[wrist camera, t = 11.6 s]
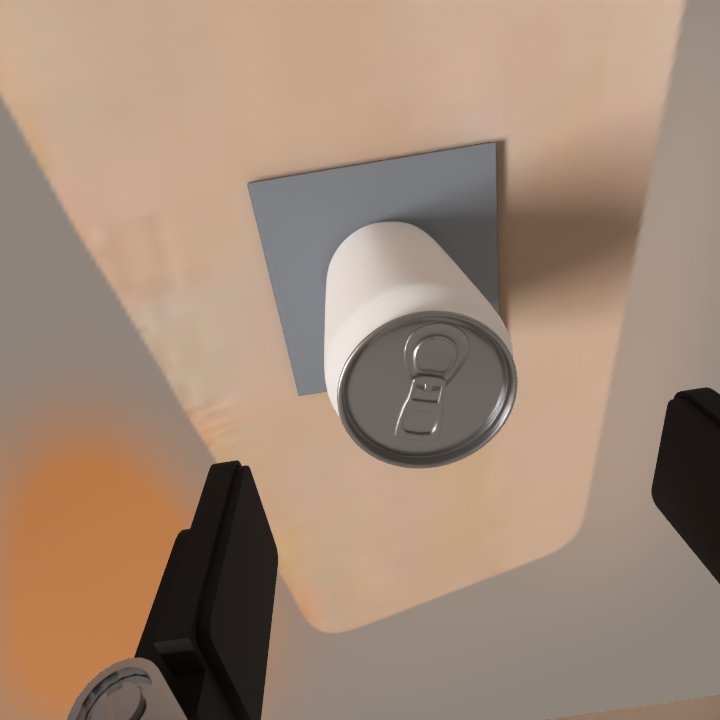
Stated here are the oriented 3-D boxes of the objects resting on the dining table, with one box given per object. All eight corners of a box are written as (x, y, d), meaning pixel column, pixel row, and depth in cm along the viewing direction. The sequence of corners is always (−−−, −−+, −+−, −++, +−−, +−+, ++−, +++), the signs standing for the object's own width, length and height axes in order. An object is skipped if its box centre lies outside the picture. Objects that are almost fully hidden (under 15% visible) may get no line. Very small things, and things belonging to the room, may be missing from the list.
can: (460, 228, 25) (560, 312, 14) (432, 342, 27) (499, 486, 17) (334, 209, 24) (337, 283, 13) (319, 329, 27) (312, 470, 16)
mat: (249, 182, 24) (247, 184, 23) (491, 142, 23) (495, 142, 23) (299, 390, 29) (298, 396, 28) (496, 359, 29) (500, 364, 28)
